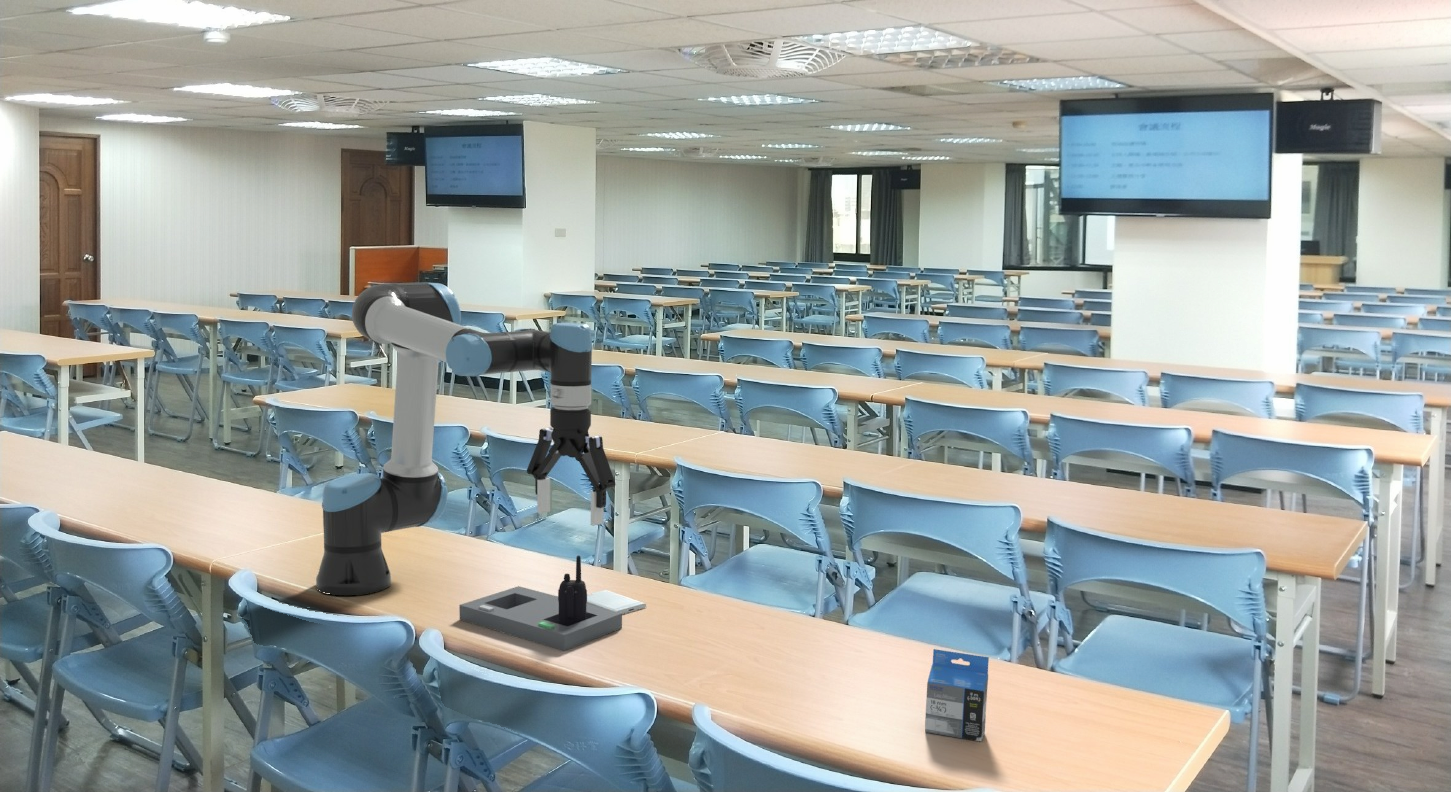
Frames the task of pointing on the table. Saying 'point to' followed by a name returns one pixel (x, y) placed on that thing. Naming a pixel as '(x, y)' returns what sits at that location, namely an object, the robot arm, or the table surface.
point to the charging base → (538, 618)
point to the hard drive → (613, 602)
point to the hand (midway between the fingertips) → (569, 518)
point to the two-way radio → (572, 598)
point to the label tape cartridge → (957, 696)
